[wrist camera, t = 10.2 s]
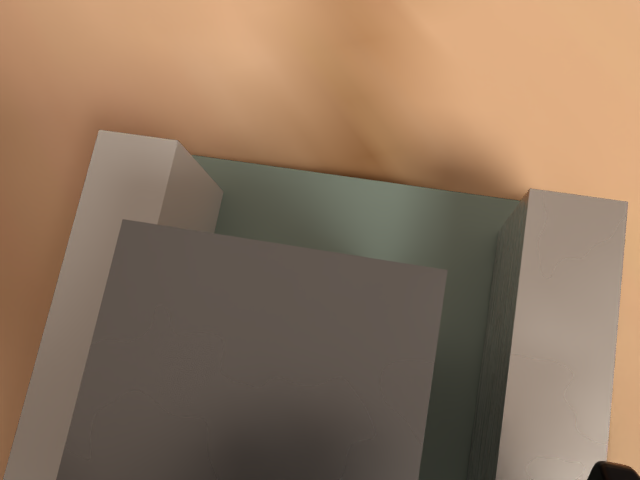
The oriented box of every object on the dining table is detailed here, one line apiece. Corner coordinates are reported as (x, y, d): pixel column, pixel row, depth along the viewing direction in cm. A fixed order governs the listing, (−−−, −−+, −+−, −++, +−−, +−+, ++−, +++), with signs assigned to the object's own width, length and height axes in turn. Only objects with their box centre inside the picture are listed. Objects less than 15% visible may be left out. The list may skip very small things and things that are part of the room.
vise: (546, 819, 15) (624, 1039, 10) (20, 669, 17) (-132, 789, 12) (601, 223, 18) (681, 163, 13) (150, 158, 20) (71, 86, 15)
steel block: (204, 564, 16) (-24, 794, 7) (258, 300, 17) (122, 219, 8) (375, 606, 15) (356, 915, 6) (417, 327, 16) (447, 269, 8)
